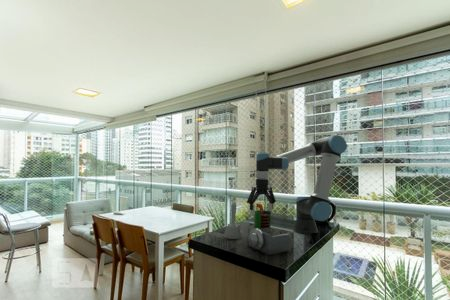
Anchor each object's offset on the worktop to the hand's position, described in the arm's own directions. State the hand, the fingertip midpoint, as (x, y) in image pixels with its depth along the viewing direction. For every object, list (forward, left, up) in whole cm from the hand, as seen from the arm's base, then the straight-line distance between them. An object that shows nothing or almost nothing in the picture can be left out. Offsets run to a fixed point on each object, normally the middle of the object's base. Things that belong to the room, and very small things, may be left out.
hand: (261, 215), depth 138 cm
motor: (0, 0, -14) cm, 14 cm away
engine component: (+12, -12, -14) cm, 22 cm away
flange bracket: (+9, +14, -14) cm, 22 cm away
